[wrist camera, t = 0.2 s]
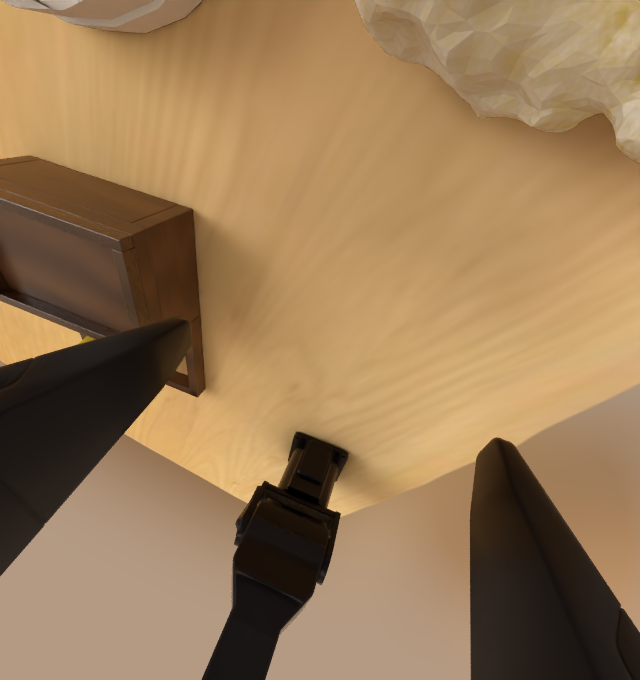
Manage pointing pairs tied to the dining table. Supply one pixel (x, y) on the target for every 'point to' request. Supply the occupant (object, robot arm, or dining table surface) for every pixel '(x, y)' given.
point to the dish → (113, 12)
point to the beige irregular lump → (525, 57)
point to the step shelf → (97, 255)
